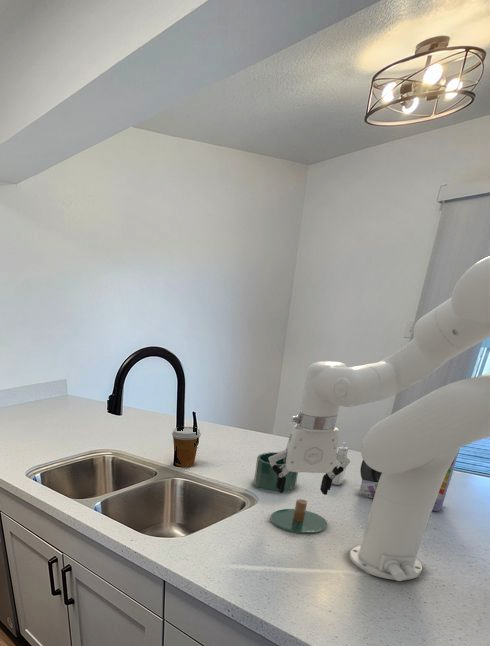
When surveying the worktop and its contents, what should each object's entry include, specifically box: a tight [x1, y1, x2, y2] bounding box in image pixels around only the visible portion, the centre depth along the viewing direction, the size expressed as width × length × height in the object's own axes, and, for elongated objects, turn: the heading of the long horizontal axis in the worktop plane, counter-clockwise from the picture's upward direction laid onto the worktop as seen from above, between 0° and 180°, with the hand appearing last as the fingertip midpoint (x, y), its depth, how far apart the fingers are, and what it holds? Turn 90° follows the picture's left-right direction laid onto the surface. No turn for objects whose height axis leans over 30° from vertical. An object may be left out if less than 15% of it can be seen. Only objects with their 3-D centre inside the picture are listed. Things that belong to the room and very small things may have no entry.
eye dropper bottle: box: [331, 442, 349, 486], centre depth 127 cm, size 4×6×12 cm
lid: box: [270, 499, 328, 535], centre depth 106 cm, size 13×13×6 cm
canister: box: [253, 451, 299, 492], centre depth 128 cm, size 11×11×8 cm
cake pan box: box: [358, 447, 461, 512], centre depth 112 cm, size 19×5×18 cm, turn 45°
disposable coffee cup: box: [171, 426, 202, 468], centre depth 147 cm, size 10×10×12 cm
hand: (301, 491), depth 104 cm, fingers open, 9 cm apart
